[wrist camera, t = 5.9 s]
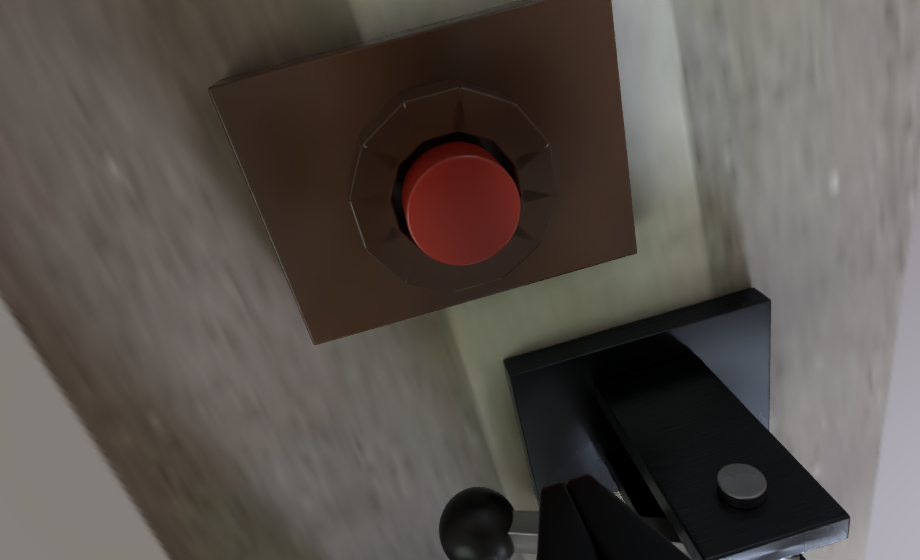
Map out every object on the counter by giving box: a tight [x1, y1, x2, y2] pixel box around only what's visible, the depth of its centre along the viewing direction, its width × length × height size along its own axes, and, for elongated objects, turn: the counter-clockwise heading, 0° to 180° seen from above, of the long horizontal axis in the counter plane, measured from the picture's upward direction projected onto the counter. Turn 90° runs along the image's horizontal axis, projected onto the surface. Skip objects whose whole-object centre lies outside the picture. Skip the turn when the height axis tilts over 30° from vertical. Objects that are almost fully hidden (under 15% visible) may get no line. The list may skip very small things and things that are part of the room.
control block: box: [208, 0, 637, 345], centre depth 19 cm, size 12×9×4 cm
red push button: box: [402, 141, 521, 265], centre depth 17 cm, size 3×3×2 cm
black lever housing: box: [503, 288, 850, 560], centre depth 22 cm, size 11×8×10 cm
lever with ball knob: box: [439, 487, 800, 560], centre depth 21 cm, size 12×3×3 cm, turn 103°
